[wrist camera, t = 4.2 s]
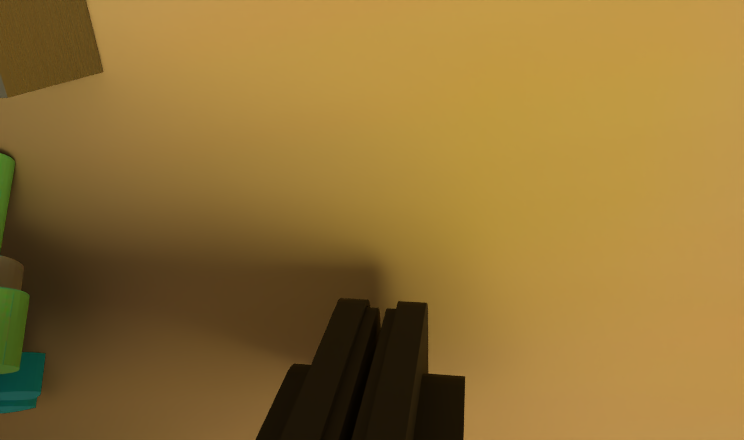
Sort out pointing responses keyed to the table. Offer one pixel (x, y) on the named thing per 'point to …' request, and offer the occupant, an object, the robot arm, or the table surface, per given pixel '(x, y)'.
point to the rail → (45, 44)
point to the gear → (14, 321)
